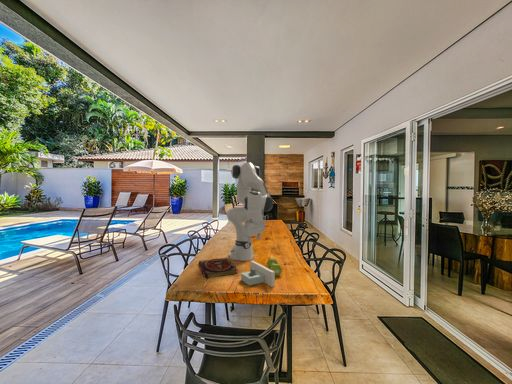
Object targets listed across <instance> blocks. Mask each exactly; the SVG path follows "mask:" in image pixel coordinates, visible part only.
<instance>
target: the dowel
mask: <svg viewBox="0 0 512 384" xmlns="http://www.w3.org/2000/svg"><path fill="white" fill-rule="evenodd" d="M249 272H250V276H255V269H249Z"/></svg>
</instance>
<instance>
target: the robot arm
mask: <svg viewBox="0 0 512 384" xmlns="http://www.w3.org/2000/svg"><path fill="white" fill-rule="evenodd" d="M230 173H231V177H232V178H233V179H235V180H236V179H237V184H236V185H237V186H236V200H237V202H239V203H240V204H242V205H243V207H232V208H229V209H228V210H227V213H226V218H227V220H228V221H230V222H231V223H232V225H233V226H234V228H235V231H236V233H235V234H236V237H235V238H236V239H235V243H234V245H233V246H232V247H231V249H230V253H227V254H228V255H227V256H228V257H229V258H230V259H231V260H232V261H242V262H243V261H245V262H246V261H252V260H253V258H254V257H255V254H254V251H253V250H254V248H253V245H252V244H253V239H252V236H254V235H256V237H255V238H256V240H260V239H261V236H262V233H263V232H265V229H266V218H267V217H266V216H265V215H263V212H270V211H271V210H272V209H273V207H274V201H273V197H272V196H271V195H270V193H269V191H268V188H267V186H266V184H265V182H264V180H263V179H262V178H261V177H260V176H261V169H260V166H257V165H254V164H253V163H252V162H250V161H249V162H244V163H243V164H235V165H233V166H232V167H231V170H230ZM252 189H255V190H252Z"/></svg>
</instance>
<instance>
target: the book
mask: <svg viewBox="0 0 512 384" xmlns="http://www.w3.org/2000/svg"><path fill="white" fill-rule="evenodd" d="M198 265H199V267H200V270H201V272H202V273H203V275H204V278H207V279H208V278H211V277H219V276H227V275H237V274H238V272H237V271H238V268H237V267H236V266H235V264H234V263H233V262H232V261H231V260H230V259H229V258H228V257H220V258H211V259H205V260H199V261H198Z"/></svg>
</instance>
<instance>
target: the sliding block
mask: <svg viewBox="0 0 512 384" xmlns="http://www.w3.org/2000/svg"><path fill="white" fill-rule="evenodd" d="M264 277H265V275H263V274H261V273H259V272H258V271H256V270H255V276H250V271H245V272H241V273H240V280H241V281H242V282H243V283H245V284H247V285H248V286H255V285H258V284H262V283H265V282H264Z"/></svg>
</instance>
